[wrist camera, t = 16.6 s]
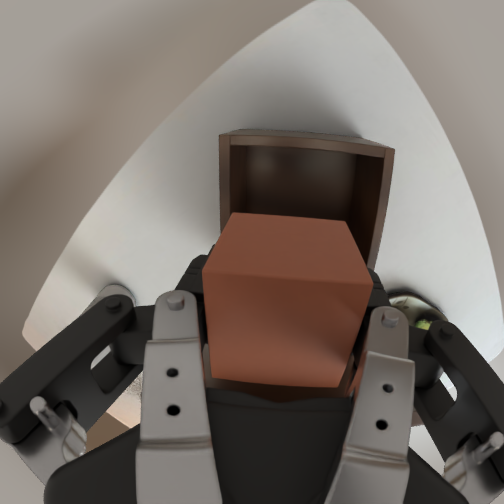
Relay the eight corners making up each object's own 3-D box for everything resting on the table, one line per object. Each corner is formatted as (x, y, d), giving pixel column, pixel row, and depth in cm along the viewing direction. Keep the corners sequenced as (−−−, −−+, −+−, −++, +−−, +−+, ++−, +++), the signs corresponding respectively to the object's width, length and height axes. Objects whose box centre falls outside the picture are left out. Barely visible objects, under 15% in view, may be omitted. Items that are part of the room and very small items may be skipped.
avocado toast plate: (380, 395, 43) (384, 415, 39) (302, 365, 41) (302, 388, 37) (460, 324, 34) (472, 343, 30) (391, 273, 32) (402, 294, 28)
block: (232, 211, 12) (200, 269, 7) (345, 220, 11) (374, 283, 7) (232, 303, 14) (211, 378, 10) (328, 311, 13) (337, 388, 9)
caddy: (239, 129, 27) (218, 134, 19) (363, 138, 26) (395, 149, 18) (239, 265, 34) (223, 314, 26) (345, 272, 33) (359, 323, 25)
